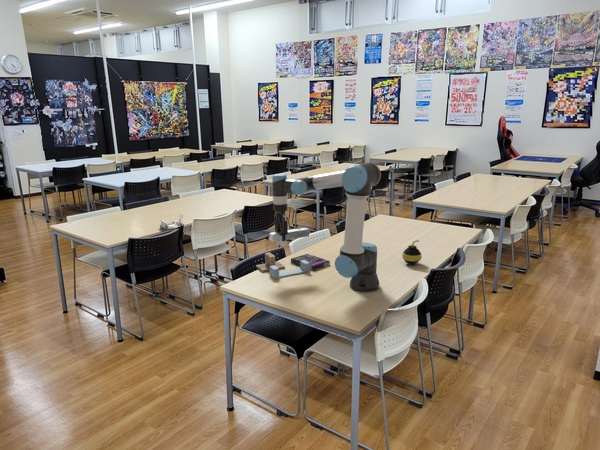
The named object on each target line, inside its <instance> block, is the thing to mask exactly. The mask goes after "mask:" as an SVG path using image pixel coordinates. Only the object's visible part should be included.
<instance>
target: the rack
mask: <svg viewBox="0 0 600 450" xmlns="http://www.w3.org/2000/svg"><path fill="white" fill-rule="evenodd" d="M310 272H311V270H310V263H309V262H308V261H306V260H301V261H300V266H299V268H295V269H294V268H293V269H290V270H283V271H280V269H279V268H278V267H276V266H275V265H273V266H270V271H269V276H270V277H271V278H272V279H275V280H276V279H280V278H286V277H290V276H291V277H292V276H296V275H302V274H306V273H307V274H308V273H310Z"/></svg>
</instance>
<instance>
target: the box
mask: <svg viewBox="0 0 600 450" xmlns="http://www.w3.org/2000/svg"><path fill="white" fill-rule="evenodd" d="M301 260H306V261H308V262H309V263H310V271H313V272H315V271H317V270H320V269H322V268H325V267H328V266H330V265H331V261H330V260H328V259H326V258H325V259H324V258H321V257H318V256H316V255H313V254H309V253H306V254H303V255H299V256H296V257H292V258H290V263H291V264H293V263H294V264H293V265H296V266H298V265H299V267H300V261H301Z"/></svg>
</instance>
